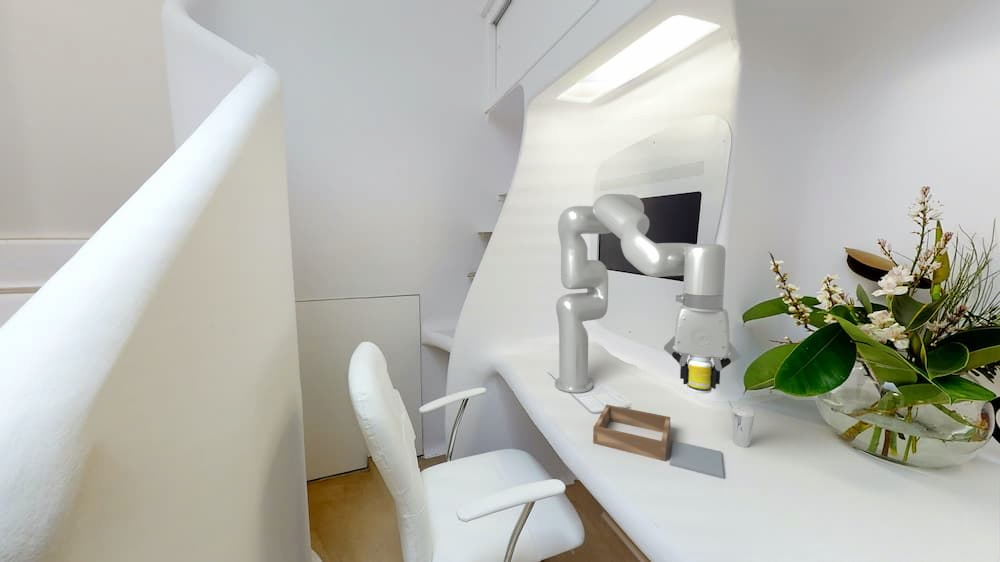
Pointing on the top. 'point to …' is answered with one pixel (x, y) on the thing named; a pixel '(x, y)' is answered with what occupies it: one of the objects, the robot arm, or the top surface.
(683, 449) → the slate mat
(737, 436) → the milkshake
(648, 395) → the top surface
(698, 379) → the supplement bottle
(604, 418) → the walnut box
